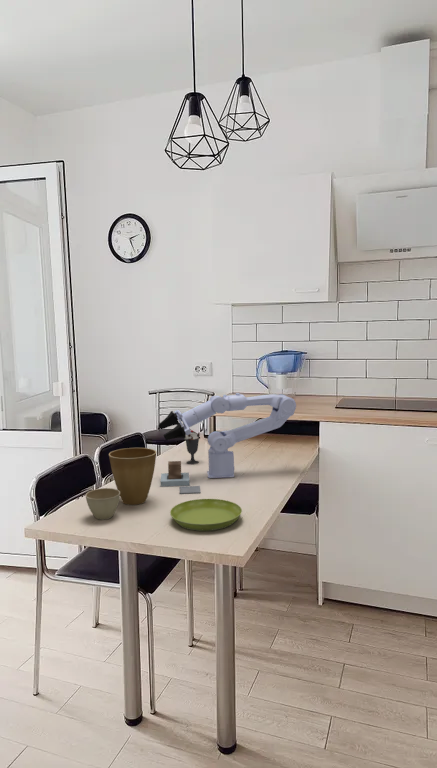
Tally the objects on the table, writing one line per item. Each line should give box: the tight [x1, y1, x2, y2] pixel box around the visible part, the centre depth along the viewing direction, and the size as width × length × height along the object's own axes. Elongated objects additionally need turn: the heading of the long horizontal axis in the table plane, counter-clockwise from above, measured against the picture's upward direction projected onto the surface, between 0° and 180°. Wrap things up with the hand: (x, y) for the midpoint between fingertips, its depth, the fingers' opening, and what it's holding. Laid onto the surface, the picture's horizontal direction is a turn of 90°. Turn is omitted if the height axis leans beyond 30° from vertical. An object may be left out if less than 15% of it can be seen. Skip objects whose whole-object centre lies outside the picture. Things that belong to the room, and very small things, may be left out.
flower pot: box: [85, 487, 121, 521], centre depth 165 cm, size 10×10×7 cm
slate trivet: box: [178, 485, 202, 495], centre depth 189 cm, size 7×7×1 cm
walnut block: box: [167, 460, 182, 479], centre depth 199 cm, size 4×4×7 cm
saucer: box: [169, 498, 243, 532], centre depth 162 cm, size 21×21×3 cm
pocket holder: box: [160, 472, 190, 487], centre depth 199 cm, size 10×10×2 cm
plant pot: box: [108, 447, 157, 506], centre depth 178 cm, size 15×15×16 cm
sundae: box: [183, 427, 201, 465], centre depth 224 cm, size 7×7×15 cm
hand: (161, 432), depth 201 cm, fingers open, 7 cm apart
